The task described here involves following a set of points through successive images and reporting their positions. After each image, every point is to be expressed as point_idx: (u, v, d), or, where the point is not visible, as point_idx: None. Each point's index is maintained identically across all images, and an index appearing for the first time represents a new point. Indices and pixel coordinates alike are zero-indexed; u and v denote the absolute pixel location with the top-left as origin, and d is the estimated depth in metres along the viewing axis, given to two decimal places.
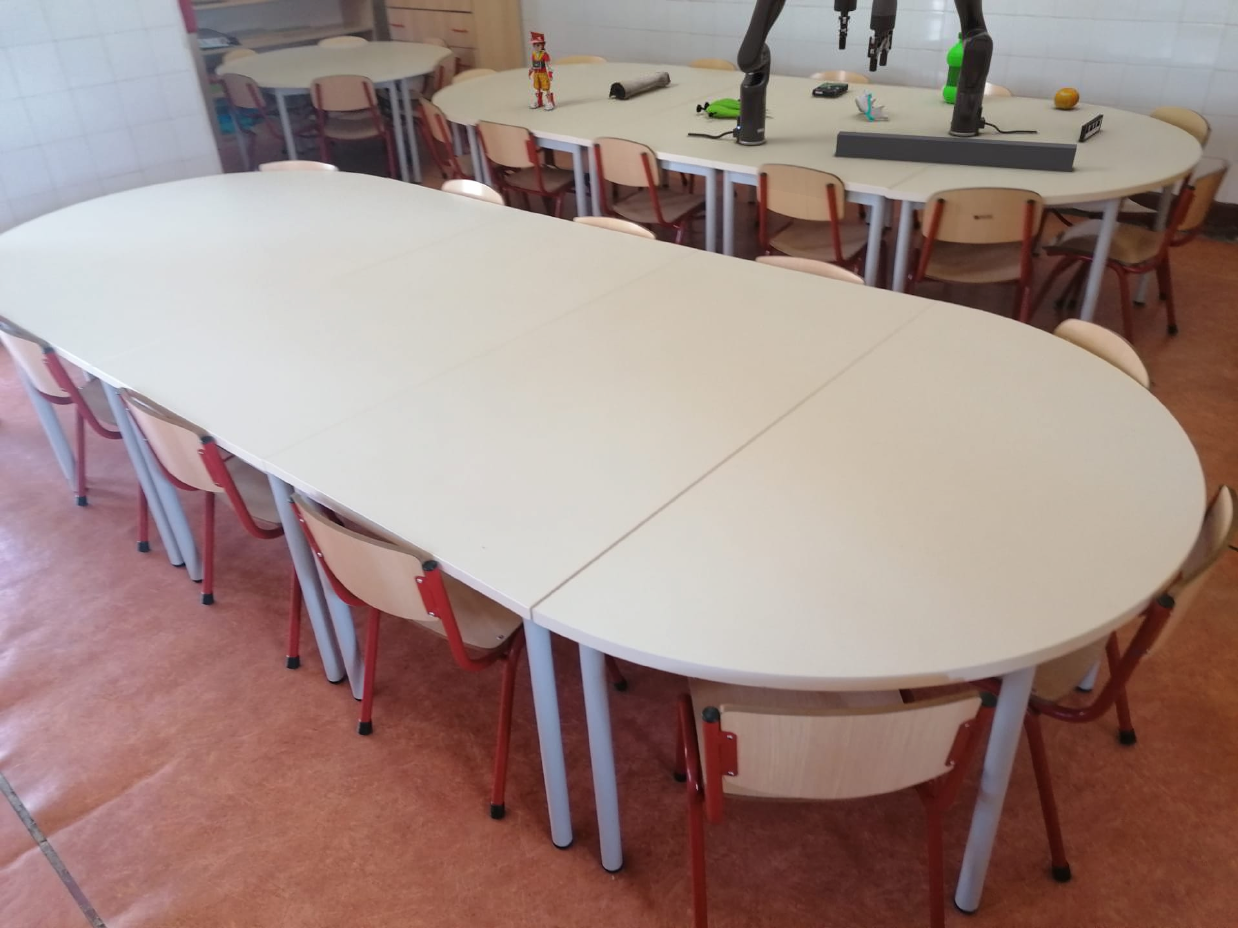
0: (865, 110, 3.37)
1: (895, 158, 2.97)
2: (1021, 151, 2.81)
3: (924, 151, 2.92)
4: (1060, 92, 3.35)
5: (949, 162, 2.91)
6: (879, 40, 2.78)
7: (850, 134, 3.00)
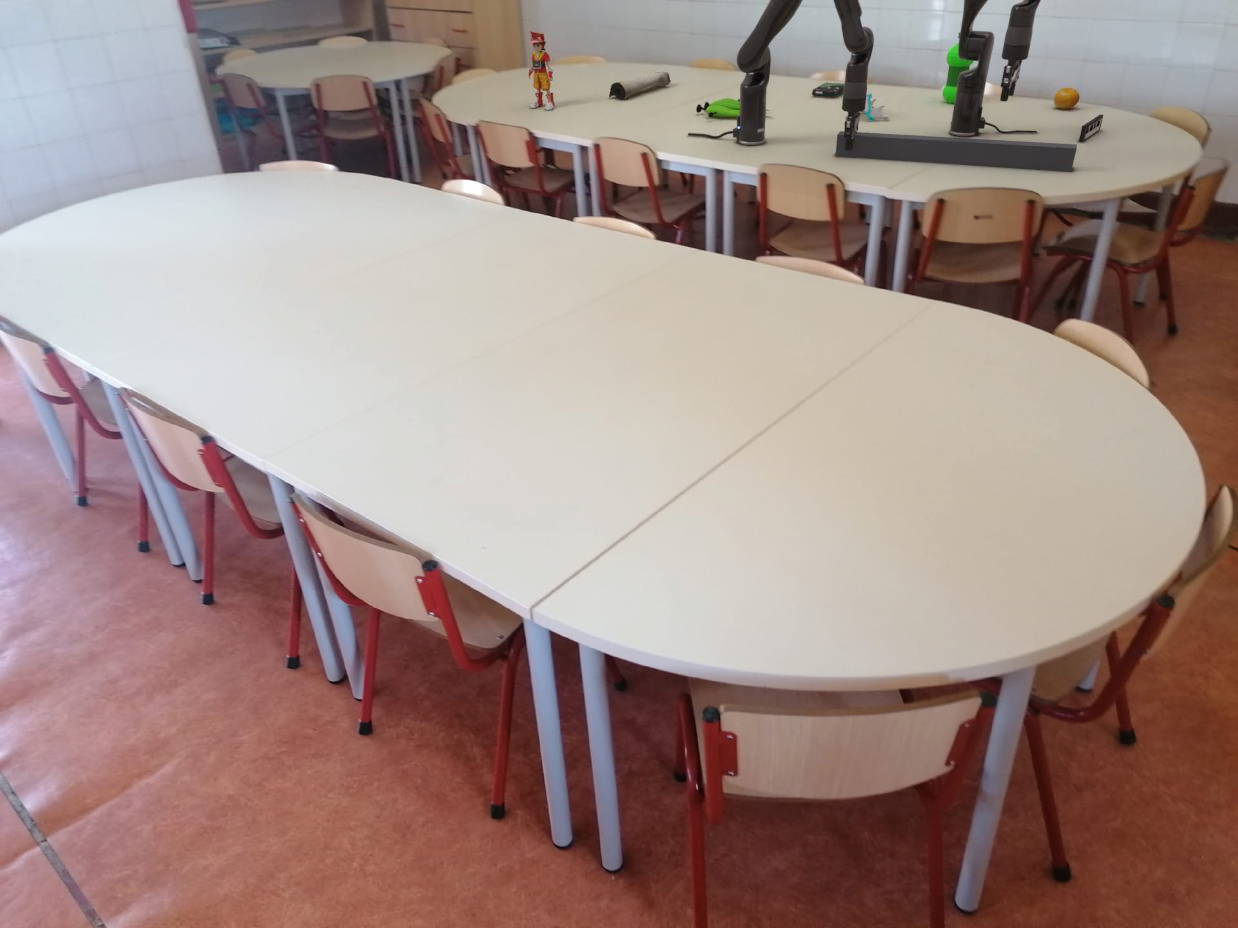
0: (865, 110, 3.37)
1: (895, 158, 2.97)
2: (1021, 151, 2.81)
3: (924, 151, 2.92)
4: (1060, 92, 3.35)
5: (949, 162, 2.91)
6: (853, 121, 2.95)
7: None
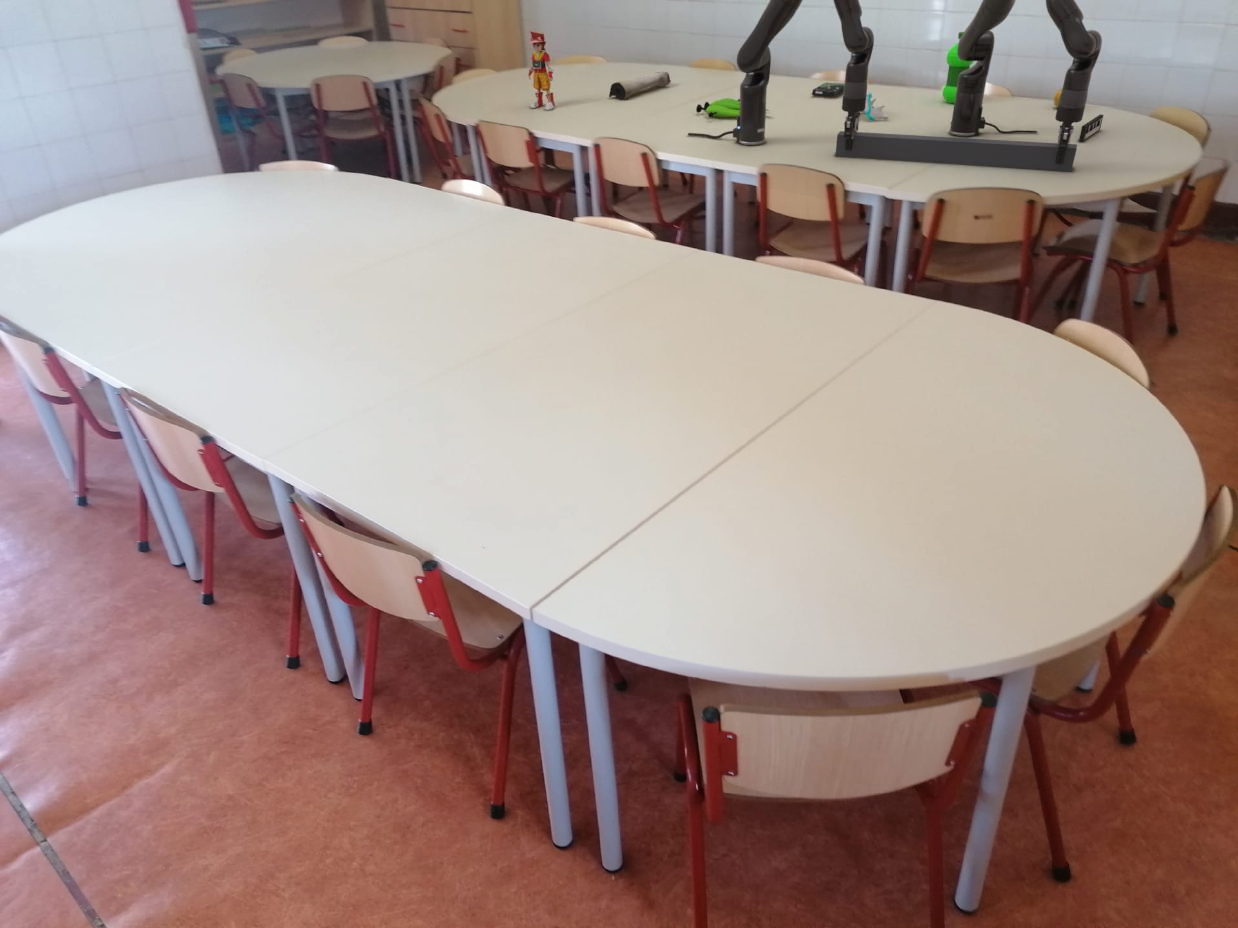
0: (865, 110, 3.37)
1: (895, 158, 2.97)
2: (1021, 151, 2.81)
3: (924, 151, 2.92)
4: (1060, 92, 3.35)
5: (949, 162, 2.91)
6: (853, 121, 2.95)
7: None
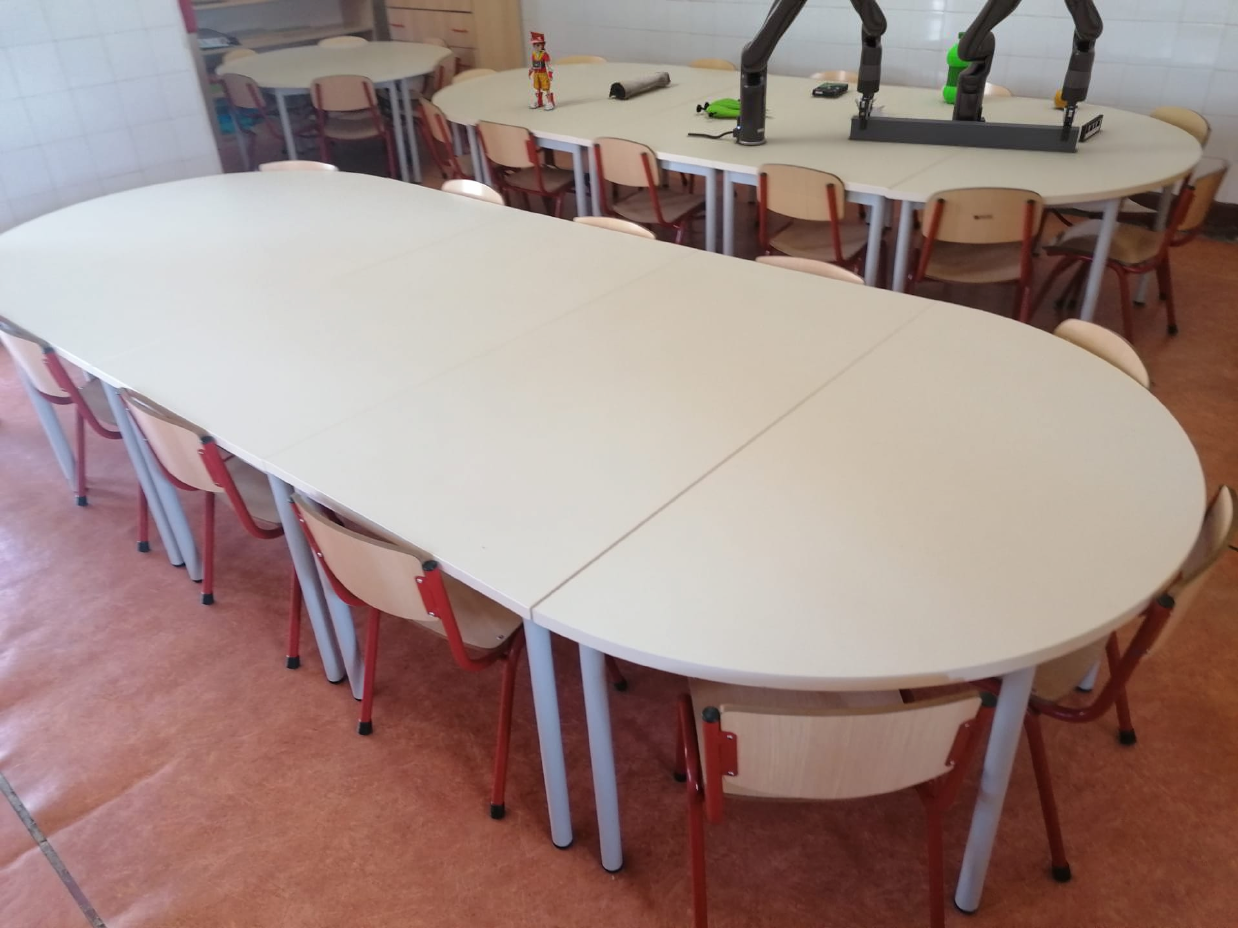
0: None
1: (907, 141, 3.13)
2: (1027, 133, 2.97)
3: (934, 134, 3.08)
4: (1060, 92, 3.35)
5: (958, 144, 3.07)
6: (867, 102, 3.10)
7: None
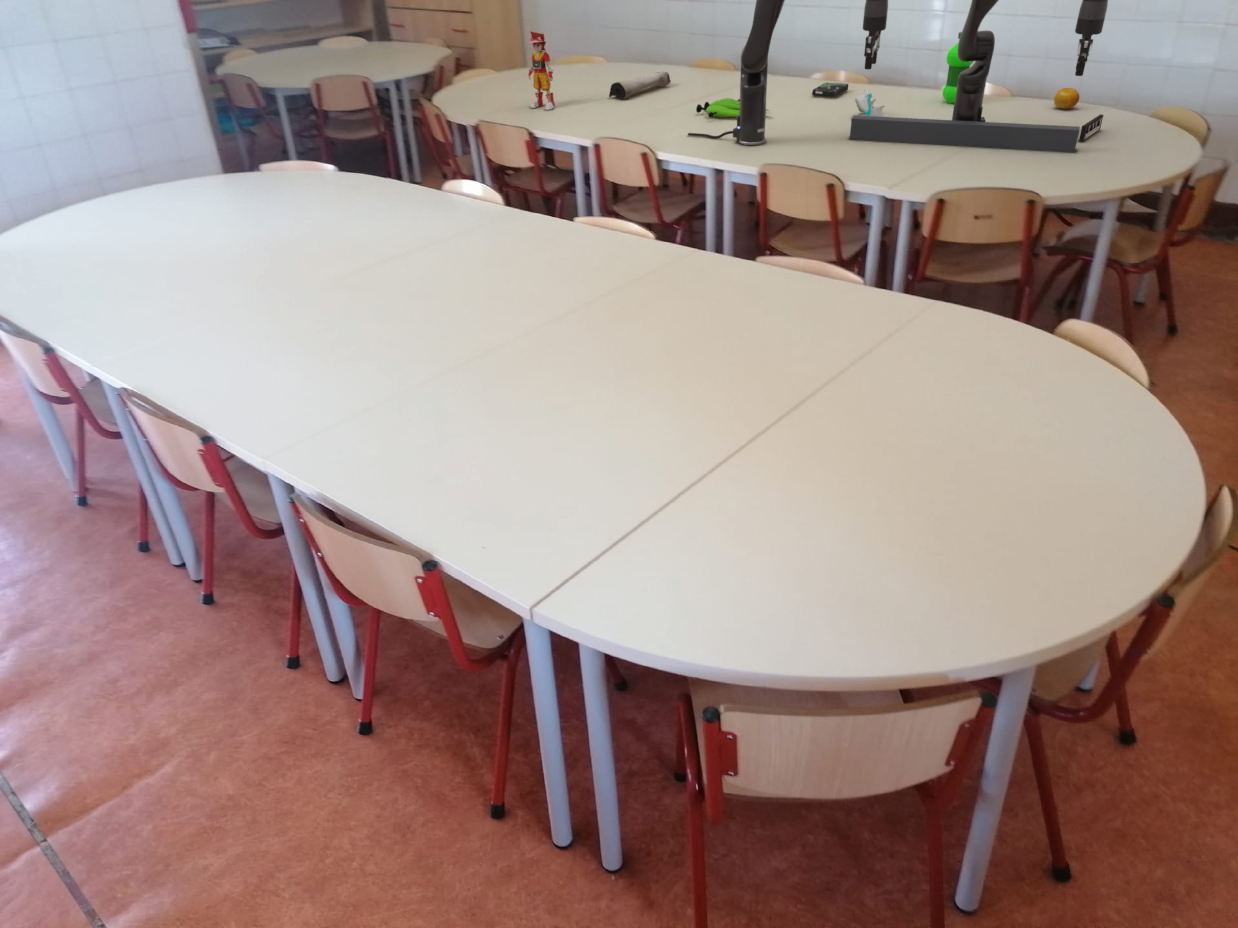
0: (865, 110, 3.37)
1: (907, 141, 3.13)
2: (1027, 133, 2.97)
3: (934, 134, 3.08)
4: (1060, 92, 3.35)
5: (958, 144, 3.07)
6: (873, 40, 2.98)
7: (864, 118, 3.15)
